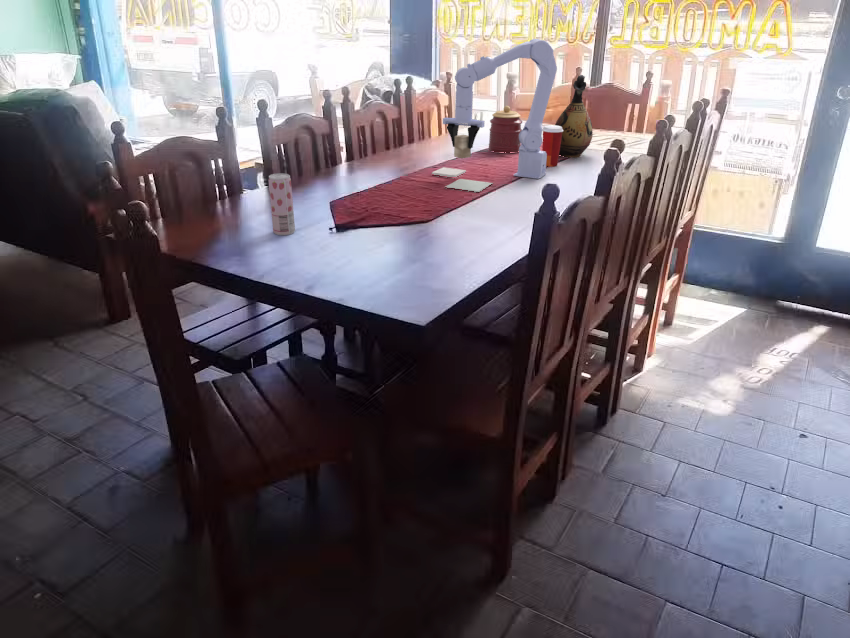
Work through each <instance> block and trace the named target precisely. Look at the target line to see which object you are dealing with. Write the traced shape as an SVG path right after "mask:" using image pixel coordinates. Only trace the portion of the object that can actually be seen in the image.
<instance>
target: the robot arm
mask: <svg viewBox="0 0 850 638" xmlns="http://www.w3.org/2000/svg"><path fill="white" fill-rule="evenodd" d="M519 58H520V59H529V60H531V61H533V62H534V63H535V65H536V67H538V70H539V71H540V72H539V76H538V80H537V84H536V87H535V92H534V96H533V99H532V102H531V105H530V110H529V113H528V118H527V119H526V121H525V122H524V125H523V128H522V131H521V132H520V134H519V141H520V143H521V146H520V147H519V152H518V160H517V171H516V172H515V173H513V176H514V177H520V178H521V177H522V178H527V179H528V178H529V179H537V180H538V179H541V178H542V177H544V176H546V174H547V173H546V171H547V166H546V161H547V154H546V152H545V151H542V149H541V146H542V145H543V131H542V129H543V121H544V118H545V115H546V111H547V107H548V103H549V99H550V96H551V92H552V90H553V86H554V85H553V84H554V82H555V78H556V74H557V72H558V71H557V70H558V66H557V63H556V59H555V55H554V49H553V48H552V46H551V45H550V44H549V42H548V41H547V40H544V39H543V40H542V39H540V38H533V39H530V40H529V41H524V42H522V43H519V44H517V45H515V46H513V47H512V48H510V49H508V50H506V51H504V52H502V53H500V54H498V55H496V56H494V57H490V56H486V57H485V55H484V56H480V58H479V60H477V61H475V62H472V63H470V62H469V63H467V64H466V66H467V67H460V68H458V70H456V73H455V75H454V81H455V82H456V85H455V88H456V91H455V107H454V108H455V110H454V117H444V118H442V125H446V130H447V132H448V134H449V136H450V139H451V144H452V147H453V148H454V145H455V144H454V141H455V136H457V135H459V126H463V127H465V126H466V127H467V135H468V136H469V142H468V148H469V149H471V150H472V149H473V147H474V143H475V139H476V137H477V134H478V133H479V131H480V128H484V127H485V123H486V122H485V120H480V119H473V102H474V101H473V99H474V91H473V88H474V87H473V86H474V83H475V82H479V81H481V80H483V79H486V78H487V77H490V76H491V75H494V74H495V73H496V70H497V68H499V67H501V66H503V65H504V66H505V65H506V64H508V63H510V62H513V61H515V60H518V59H519Z"/></svg>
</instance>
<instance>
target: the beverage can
mask: <svg viewBox="0 0 850 638" xmlns="http://www.w3.org/2000/svg"><path fill="white" fill-rule="evenodd" d="M268 188H269V190H268V191H269V199H270V209H271V211H270V213H271V222H272V232H273V233H274V234H275V235H277V236H289V235H293V234H294V233H295V231H296V224H295V214H294V211H295V210H294V204H293V203H294V201H293V200H294V199H293V190H292V189H293V188H292V179H291V175H290V174H289V173H283V172H281V173H272V174H270V175H268Z"/></svg>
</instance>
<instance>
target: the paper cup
mask: <svg viewBox="0 0 850 638" xmlns="http://www.w3.org/2000/svg"><path fill="white" fill-rule="evenodd" d="M562 132H563V129H562V127H561V126H556V125H555V124H554V125H552V124H551V125H549V124H548V125H544V126H542V145H541V146H542V149H541V151H545V152H546V154H547V161H546V167H547V166H548V167H547V168H553V167H554V168H555V167H558V163H559V157H560V156H559V151H560V144H561V138H562Z"/></svg>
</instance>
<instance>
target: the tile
mask: <svg viewBox="0 0 850 638" xmlns="http://www.w3.org/2000/svg"><path fill="white" fill-rule="evenodd" d="M465 172H466V173H467V170H466V169H459V168H452V167H444V166H443V167H441V168H439V169H438V168H437V170H434V171H432V172H431V175H432V174H434V175H440V176H447V177H457V176H459V175H461V174H463V173H465ZM466 173H465V174H466ZM463 175H464V174H463ZM461 176H462V175H461ZM447 177H446V178H447ZM459 177H460V176H459ZM457 178H458V177H457Z"/></svg>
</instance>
